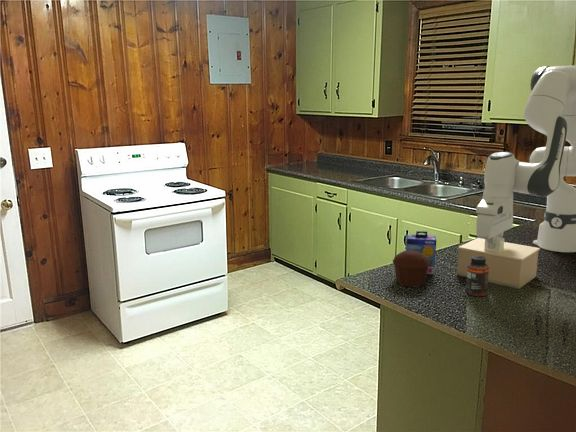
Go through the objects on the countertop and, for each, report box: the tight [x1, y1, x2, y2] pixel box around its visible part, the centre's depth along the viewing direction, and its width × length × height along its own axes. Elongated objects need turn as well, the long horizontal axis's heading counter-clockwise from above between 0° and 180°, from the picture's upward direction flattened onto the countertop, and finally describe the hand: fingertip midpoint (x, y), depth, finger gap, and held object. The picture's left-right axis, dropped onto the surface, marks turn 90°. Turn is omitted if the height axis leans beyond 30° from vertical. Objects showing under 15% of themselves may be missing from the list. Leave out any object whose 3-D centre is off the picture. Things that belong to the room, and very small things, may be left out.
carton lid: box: [457, 237, 541, 261], centre depth 167 cm, size 16×20×5 cm
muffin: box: [392, 250, 430, 287], centre depth 163 cm, size 12×11×10 cm
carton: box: [456, 249, 539, 290], centre depth 168 cm, size 15×20×9 cm
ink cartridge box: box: [405, 230, 437, 275], centre depth 173 cm, size 10×6×14 cm, turn 79°
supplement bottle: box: [465, 256, 489, 297], centre depth 152 cm, size 6×6×11 cm
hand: (494, 246), depth 164 cm, fingers closed on carton lid, 3 cm apart
